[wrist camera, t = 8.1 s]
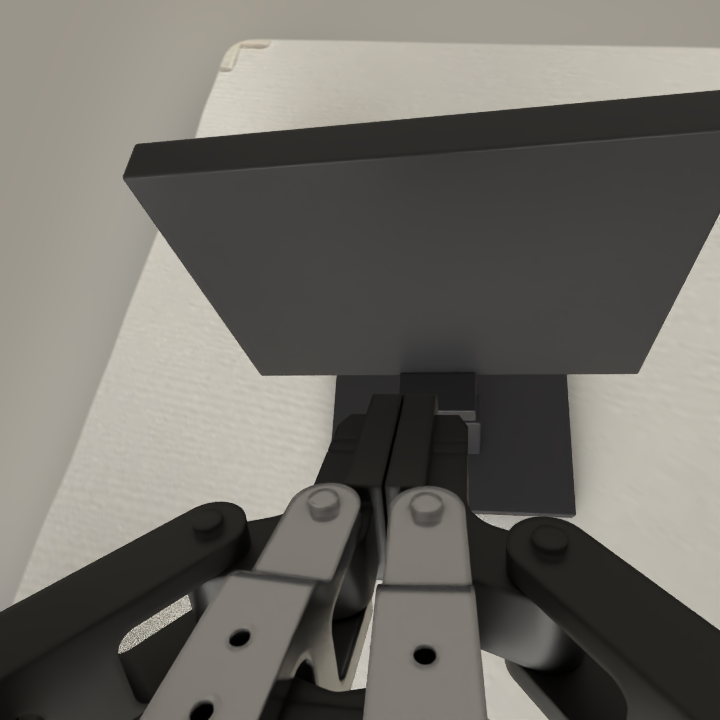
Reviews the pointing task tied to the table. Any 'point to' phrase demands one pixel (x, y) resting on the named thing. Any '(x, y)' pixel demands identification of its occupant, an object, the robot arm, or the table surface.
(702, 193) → the monitor screen
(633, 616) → the robot arm
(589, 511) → the table surface
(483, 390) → the monitor stand
